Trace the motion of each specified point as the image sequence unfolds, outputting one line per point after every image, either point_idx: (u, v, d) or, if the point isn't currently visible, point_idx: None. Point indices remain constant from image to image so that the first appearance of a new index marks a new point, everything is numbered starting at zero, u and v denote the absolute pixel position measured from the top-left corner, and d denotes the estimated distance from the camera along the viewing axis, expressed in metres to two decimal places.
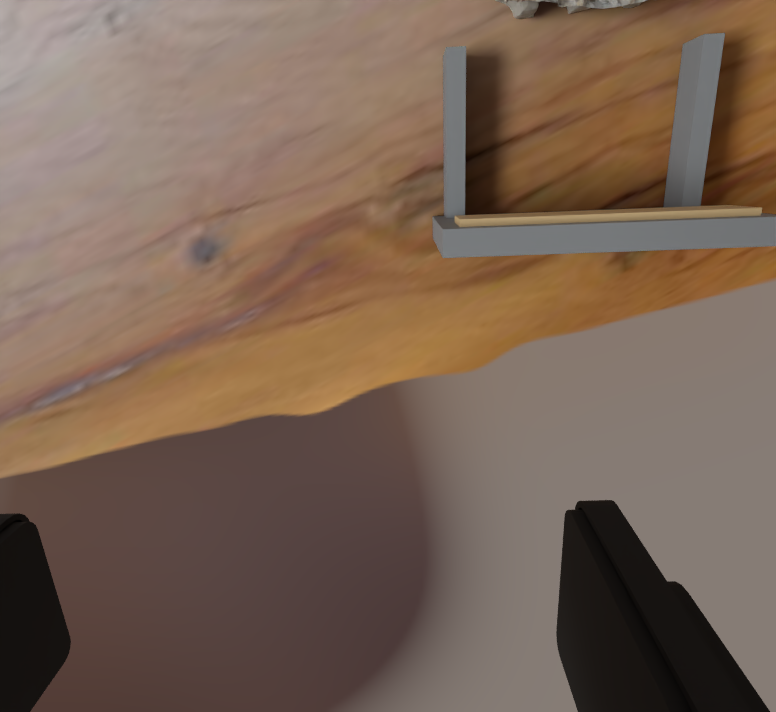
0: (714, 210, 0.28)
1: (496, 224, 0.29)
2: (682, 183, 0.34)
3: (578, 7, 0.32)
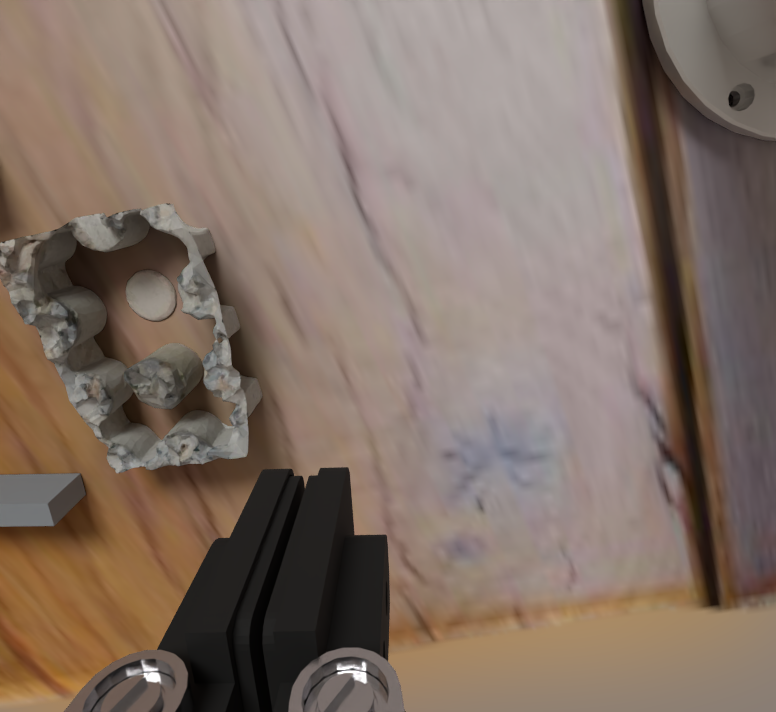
0: None
1: None
2: None
3: (70, 350, 0.22)
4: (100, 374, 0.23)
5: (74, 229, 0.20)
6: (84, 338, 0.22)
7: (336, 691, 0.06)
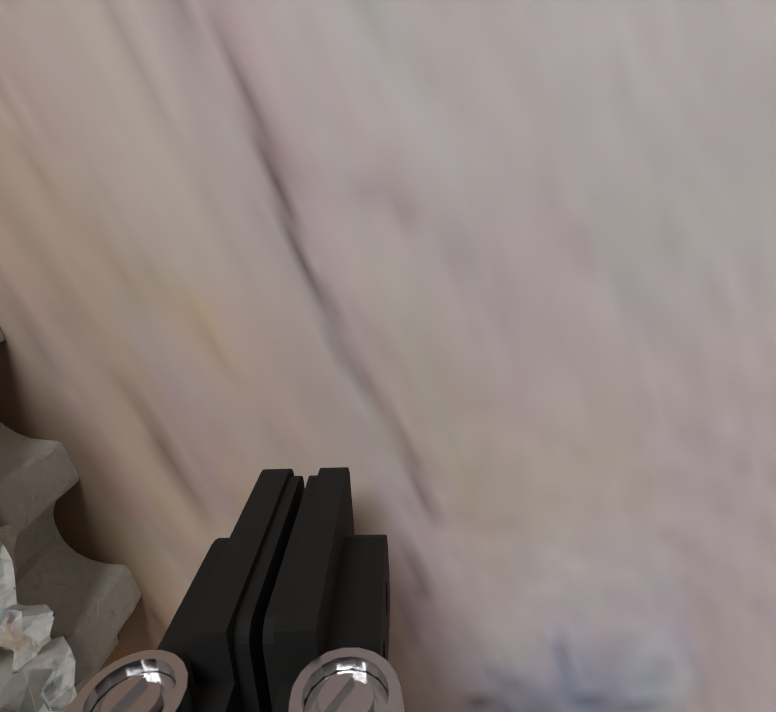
0: None
1: None
2: None
3: None
4: None
5: None
6: None
7: (336, 691, 0.06)
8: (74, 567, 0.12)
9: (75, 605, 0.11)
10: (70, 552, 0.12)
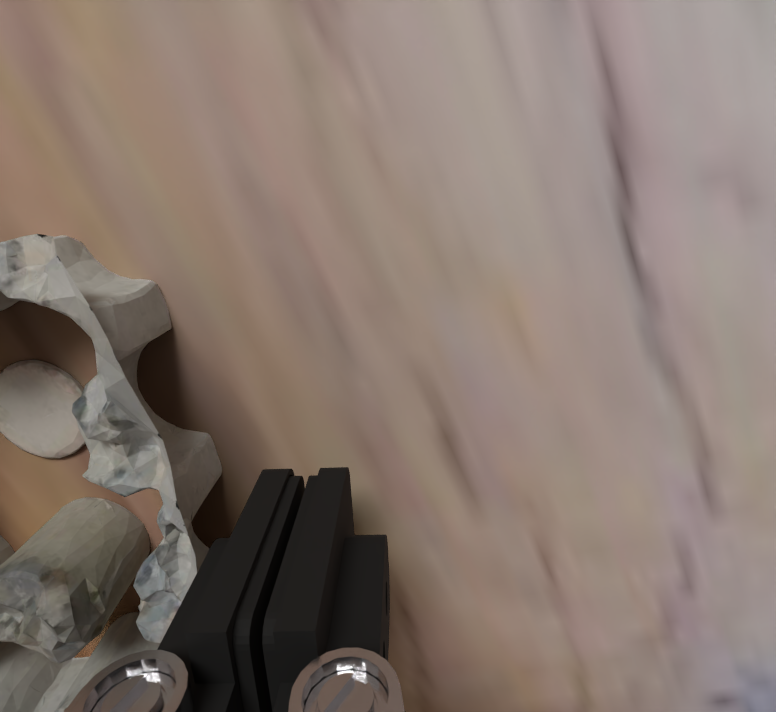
0: None
1: None
2: None
3: None
4: None
5: None
6: None
7: (336, 691, 0.06)
8: None
9: None
10: (199, 546, 0.12)
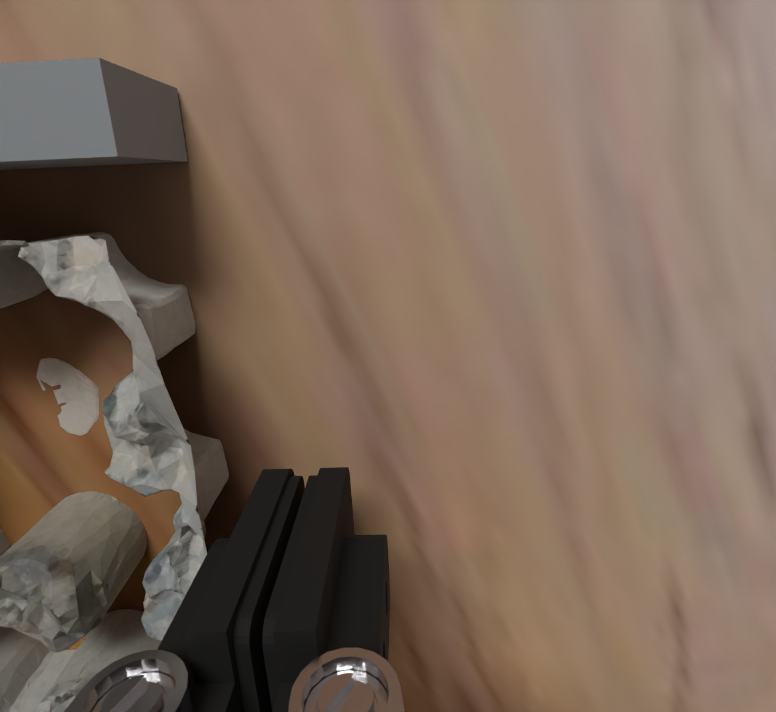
0: None
1: None
2: None
3: None
4: None
5: None
6: None
7: (336, 691, 0.06)
8: None
9: None
10: None
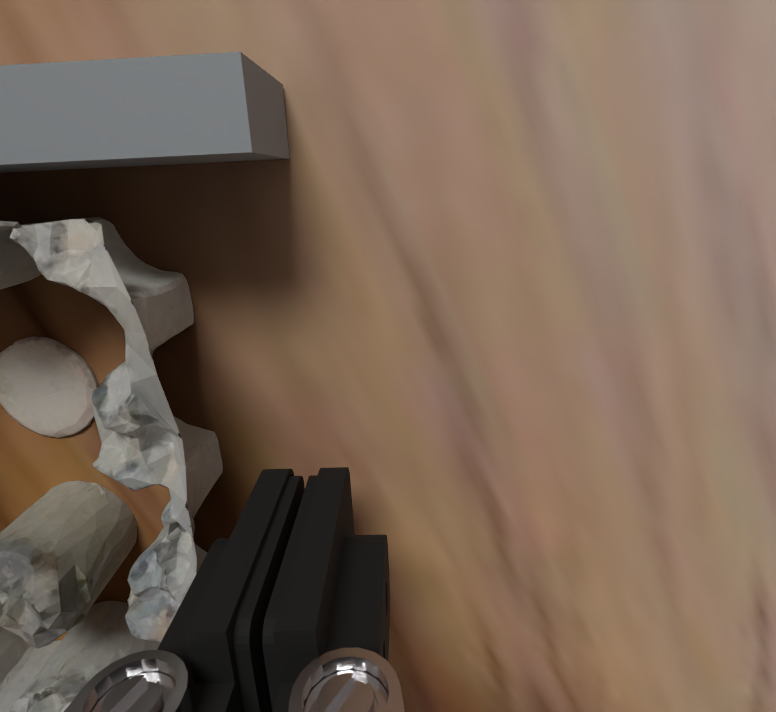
0: None
1: None
2: None
3: None
4: None
5: None
6: None
7: (336, 691, 0.06)
8: None
9: None
10: None
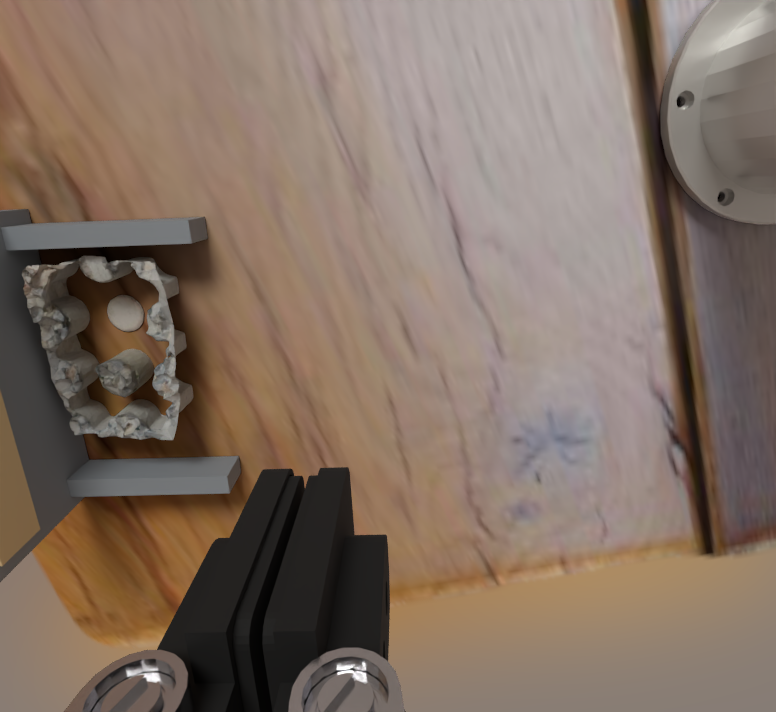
0: None
1: None
2: (93, 477, 0.33)
3: None
4: (77, 362, 0.31)
5: (81, 263, 0.29)
6: (71, 335, 0.31)
7: (336, 691, 0.06)
8: None
9: None
10: None
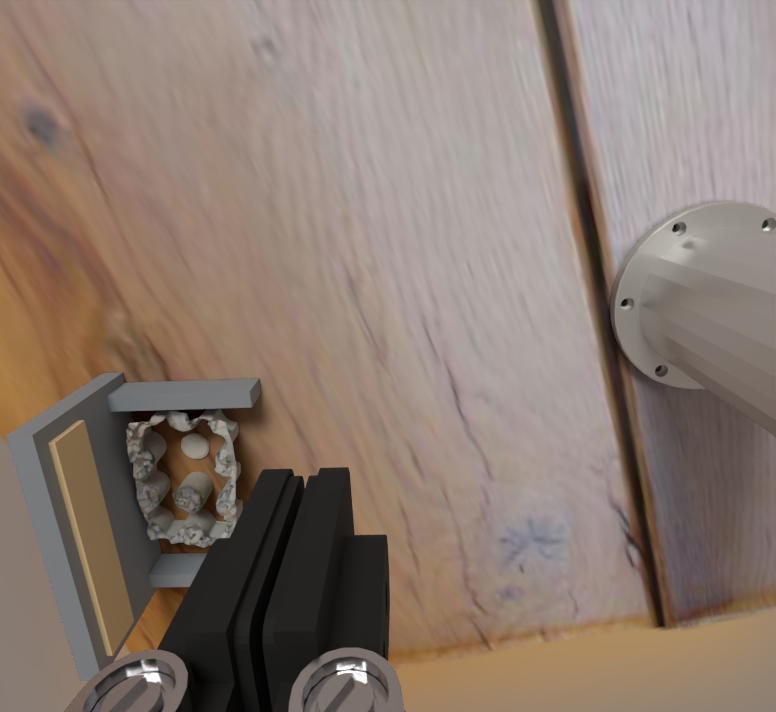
0: (104, 626, 0.35)
1: (57, 473, 0.31)
2: (169, 572, 0.42)
3: None
4: (156, 485, 0.40)
5: (168, 418, 0.38)
6: None
7: (336, 691, 0.06)
8: None
9: None
10: None
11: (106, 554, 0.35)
